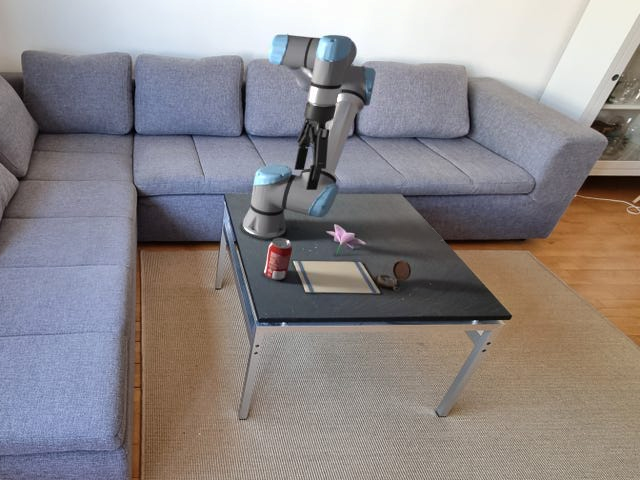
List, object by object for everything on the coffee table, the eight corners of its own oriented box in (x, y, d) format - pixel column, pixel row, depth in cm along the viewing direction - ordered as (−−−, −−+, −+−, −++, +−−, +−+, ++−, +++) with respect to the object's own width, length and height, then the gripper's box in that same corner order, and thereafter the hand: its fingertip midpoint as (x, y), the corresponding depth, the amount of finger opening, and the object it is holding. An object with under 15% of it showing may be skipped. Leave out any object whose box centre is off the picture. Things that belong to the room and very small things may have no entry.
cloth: (293, 261, 144) (293, 260, 144) (360, 262, 144) (361, 261, 144) (306, 292, 131) (306, 291, 131) (380, 293, 131) (380, 292, 131)
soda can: (286, 283, 134) (293, 250, 127) (263, 280, 135) (269, 247, 128) (285, 270, 140) (292, 238, 133) (264, 267, 141) (270, 235, 134)
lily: (364, 262, 146) (373, 234, 144) (340, 256, 140) (350, 227, 139) (335, 254, 156) (344, 227, 155) (312, 248, 150) (321, 221, 149)
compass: (371, 278, 137) (378, 259, 132) (392, 274, 139) (400, 255, 134) (388, 294, 130) (396, 274, 126) (410, 290, 132) (419, 270, 128)
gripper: (352, 118, 105) (331, 198, 117) (322, 90, 125) (306, 162, 137) (321, 117, 105) (302, 198, 117) (295, 90, 125) (282, 161, 137)
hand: (304, 179), depth 127 cm, fingers open, 13 cm apart
